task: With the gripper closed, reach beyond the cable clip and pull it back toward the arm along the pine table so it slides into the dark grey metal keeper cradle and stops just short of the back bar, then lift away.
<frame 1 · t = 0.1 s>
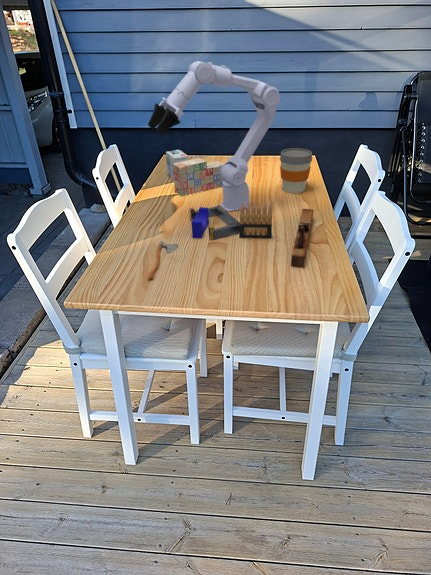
hand: (154, 129, 135), 32 cm above the table, tool tilted 50°, fingers open, 7 cm apart
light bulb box: (178, 177, 191), on the table
stack of blocks: (200, 189, 179), on the table
axe: (164, 262, 130), on the table
hand plane: (302, 242, 138), on the table
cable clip: (198, 231, 147), on the table
reusable coffee cup: (293, 189, 175), on the table
ammunition clip: (255, 237, 141), on the table
keeper cradle: (217, 225, 149), on the table
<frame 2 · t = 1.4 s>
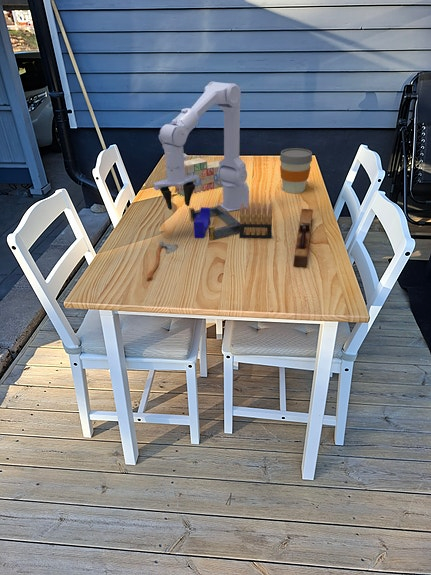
hand: (178, 206, 139), 10 cm above the table, tool pointing down, fingers open, 5 cm apart
nothing on the table moved.
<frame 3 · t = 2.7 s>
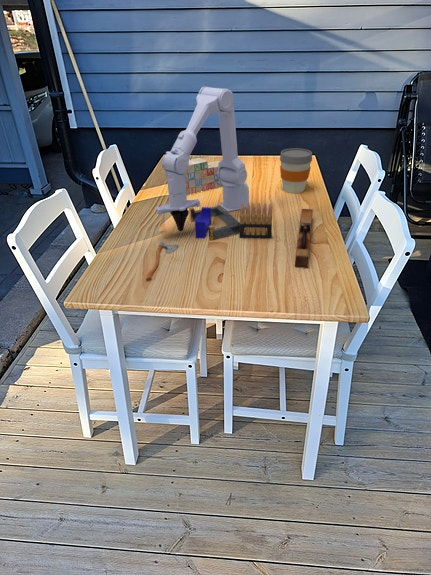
hand: (180, 229, 143), 2 cm above the table, tool pointing down, fingers closed
nothing on the table moved.
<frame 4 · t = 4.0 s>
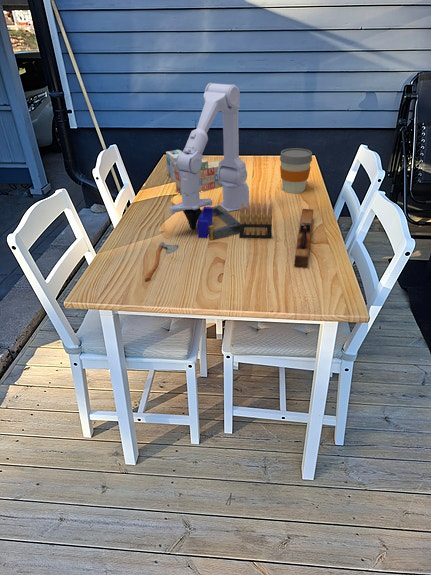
hand: (192, 228, 145), 1 cm above the table, tool pointing down, fingers closed
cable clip: (203, 230, 147), on the table, touching gripper
everything else where it was.
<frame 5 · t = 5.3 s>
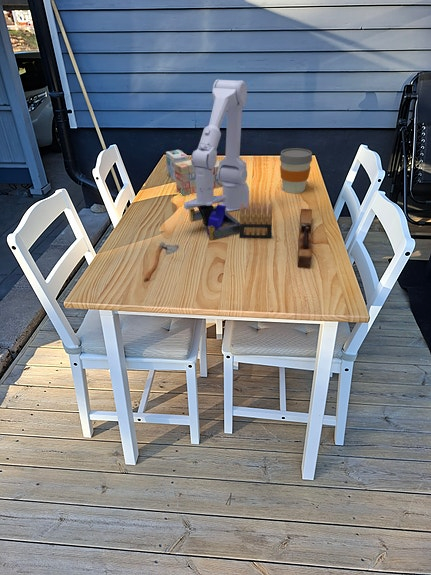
hand: (205, 225, 147), 1 cm above the table, tool pointing down, fingers closed, pressing on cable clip
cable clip: (213, 228, 147), on the table, touching gripper, keeper cradle
everything else where it was.
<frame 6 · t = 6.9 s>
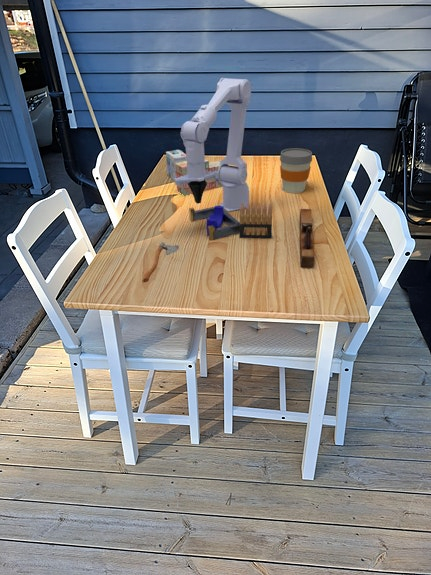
hand: (197, 202, 141), 10 cm above the table, tool pointing down, fingers closed
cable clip: (213, 229, 147), on the table
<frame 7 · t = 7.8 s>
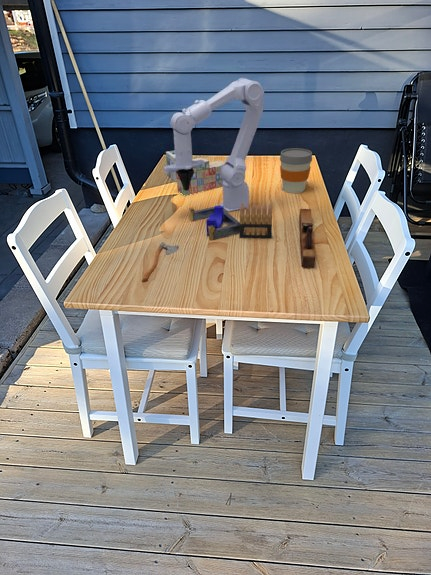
hand: (186, 189, 151), 10 cm above the table, tool pointing down, fingers closed
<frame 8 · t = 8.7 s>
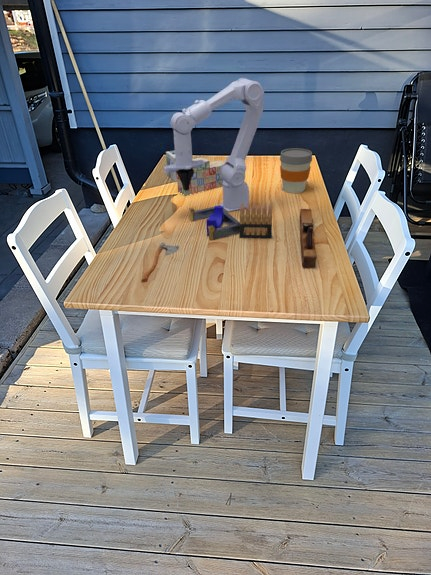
hand: (186, 189, 151), 10 cm above the table, tool pointing down, fingers closed
at the end: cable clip inside the target area on the keeper cradle (2.3 cm from its centre), point 0.0 cm above the keeper cradle's base; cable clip moved 5.4 cm from its start; the gripper is holding nothing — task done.
